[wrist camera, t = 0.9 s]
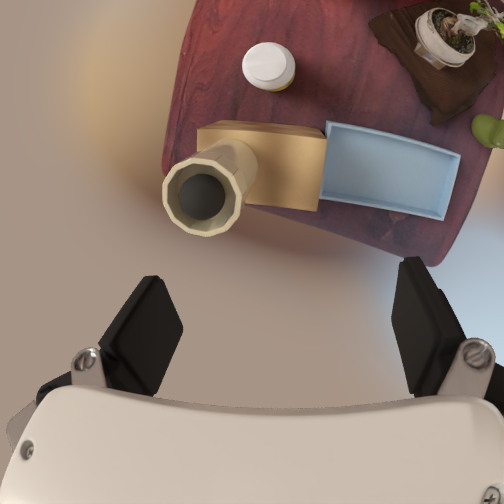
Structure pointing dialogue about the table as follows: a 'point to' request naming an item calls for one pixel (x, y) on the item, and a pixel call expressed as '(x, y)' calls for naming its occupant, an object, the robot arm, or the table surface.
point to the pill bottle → (269, 66)
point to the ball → (201, 197)
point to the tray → (387, 171)
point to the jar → (226, 171)
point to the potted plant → (444, 50)
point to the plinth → (277, 160)
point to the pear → (488, 131)
